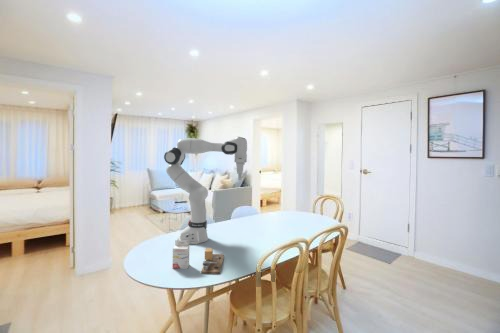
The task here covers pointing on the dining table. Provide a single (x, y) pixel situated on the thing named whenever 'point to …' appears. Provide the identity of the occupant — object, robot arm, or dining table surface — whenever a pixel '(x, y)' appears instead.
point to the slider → (209, 254)
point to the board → (213, 265)
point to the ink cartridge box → (181, 254)
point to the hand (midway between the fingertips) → (240, 178)
